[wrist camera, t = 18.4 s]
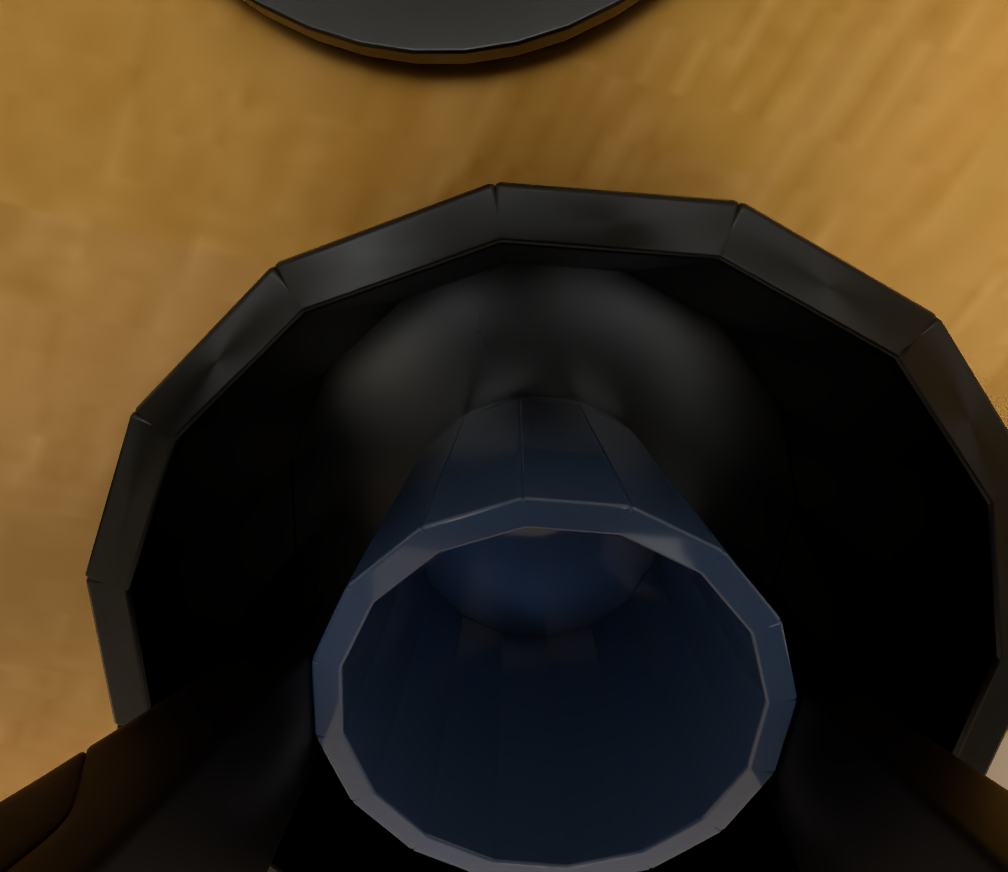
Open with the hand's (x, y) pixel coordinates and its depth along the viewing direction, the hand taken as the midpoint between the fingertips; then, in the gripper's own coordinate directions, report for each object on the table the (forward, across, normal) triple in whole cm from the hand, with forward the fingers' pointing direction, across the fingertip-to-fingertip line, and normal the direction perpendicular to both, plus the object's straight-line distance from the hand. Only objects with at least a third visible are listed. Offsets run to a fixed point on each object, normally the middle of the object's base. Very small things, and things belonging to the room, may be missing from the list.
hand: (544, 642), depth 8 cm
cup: (+4, 0, 0) cm, 4 cm away
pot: (+4, 0, 0) cm, 5 cm away
